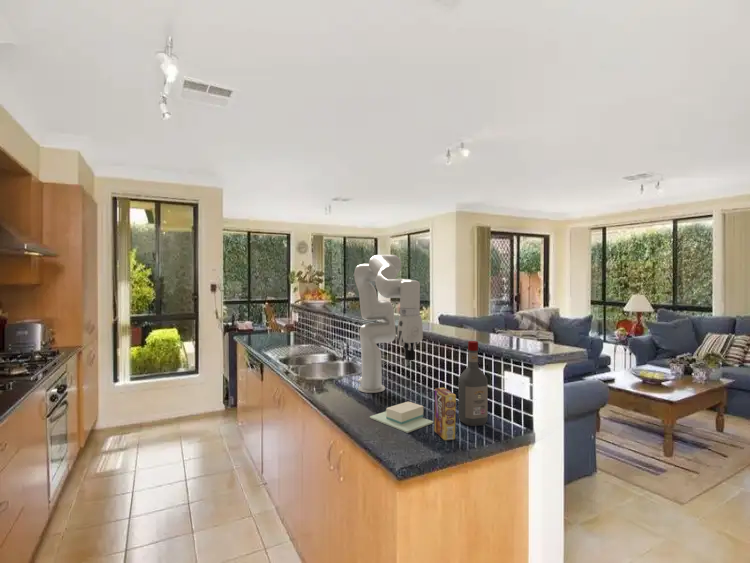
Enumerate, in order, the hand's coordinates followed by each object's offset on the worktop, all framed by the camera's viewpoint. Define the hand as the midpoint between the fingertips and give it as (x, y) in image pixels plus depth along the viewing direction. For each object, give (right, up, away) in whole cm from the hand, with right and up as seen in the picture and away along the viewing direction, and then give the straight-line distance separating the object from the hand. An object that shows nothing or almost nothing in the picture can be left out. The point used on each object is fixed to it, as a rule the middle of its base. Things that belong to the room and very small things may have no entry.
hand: (409, 359), depth 158 cm
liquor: (+23, -23, -5) cm, 33 cm away
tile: (+3, -20, +2) cm, 20 cm away
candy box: (+11, -23, -17) cm, 31 cm away
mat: (-3, -22, -3) cm, 23 cm away
